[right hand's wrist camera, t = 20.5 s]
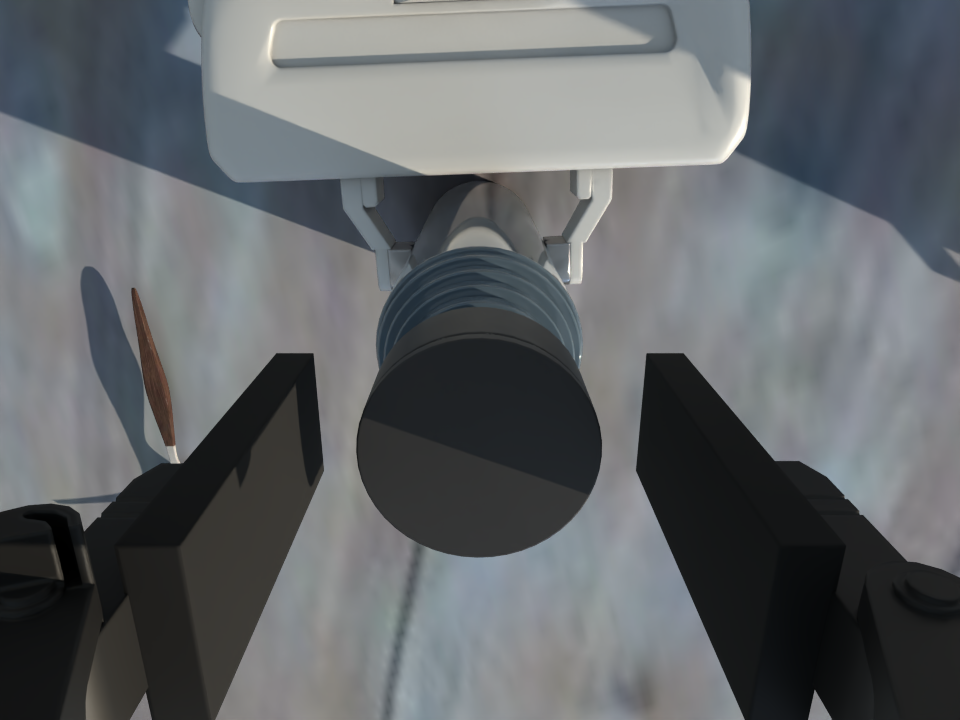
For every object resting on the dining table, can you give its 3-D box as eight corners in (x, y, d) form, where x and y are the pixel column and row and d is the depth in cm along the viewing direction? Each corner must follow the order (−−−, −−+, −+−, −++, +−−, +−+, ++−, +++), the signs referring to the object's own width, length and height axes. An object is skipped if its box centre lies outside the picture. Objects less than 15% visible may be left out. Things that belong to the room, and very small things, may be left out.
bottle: (493, 157, 33) (518, 240, 12) (554, 249, 35) (674, 471, 13) (403, 222, 34) (275, 407, 13) (466, 308, 36) (446, 602, 14)
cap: (547, 520, 15) (557, 580, 13) (352, 472, 15) (333, 527, 13) (615, 338, 14) (638, 376, 12) (401, 279, 14) (387, 308, 12)
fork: (162, 284, 35) (145, 293, 33) (219, 542, 41) (206, 562, 39) (113, 286, 35) (93, 296, 33) (176, 543, 41) (161, 564, 39)
